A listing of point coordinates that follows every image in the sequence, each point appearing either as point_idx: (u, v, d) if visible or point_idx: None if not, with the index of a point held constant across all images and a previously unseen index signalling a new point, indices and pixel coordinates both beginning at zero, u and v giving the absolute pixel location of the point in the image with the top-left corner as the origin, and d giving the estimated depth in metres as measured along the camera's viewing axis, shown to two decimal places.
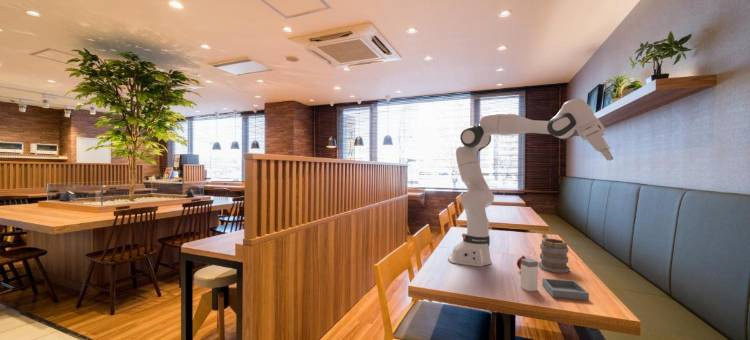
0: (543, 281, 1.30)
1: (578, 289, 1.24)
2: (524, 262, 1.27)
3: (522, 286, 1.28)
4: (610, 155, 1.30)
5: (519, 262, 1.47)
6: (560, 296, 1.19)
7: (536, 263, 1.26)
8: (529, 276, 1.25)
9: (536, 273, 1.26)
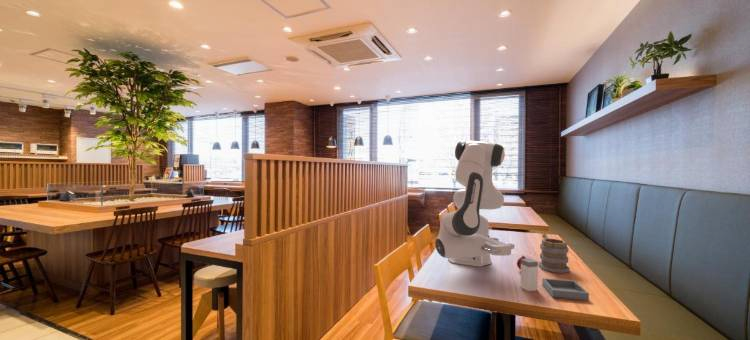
0: (543, 281, 1.30)
1: (578, 289, 1.24)
2: (524, 262, 1.27)
3: (522, 286, 1.28)
4: None
5: (519, 262, 1.47)
6: (560, 296, 1.19)
7: (536, 263, 1.26)
8: (529, 276, 1.25)
9: (536, 273, 1.26)
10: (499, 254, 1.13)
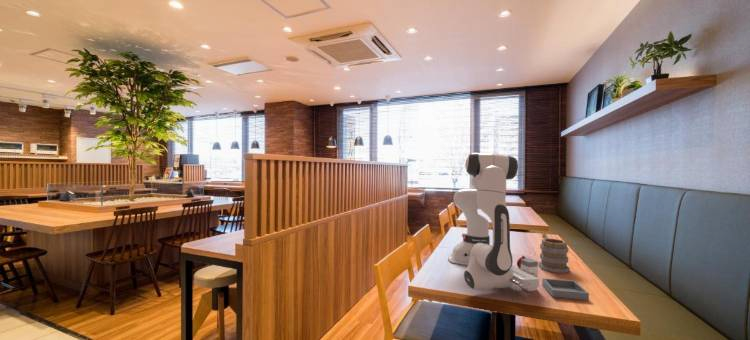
0: (543, 281, 1.30)
1: (578, 289, 1.24)
2: (524, 262, 1.27)
3: None
4: None
5: (519, 262, 1.47)
6: (560, 296, 1.19)
7: (536, 263, 1.26)
8: None
9: (536, 273, 1.26)
10: (527, 287, 1.16)
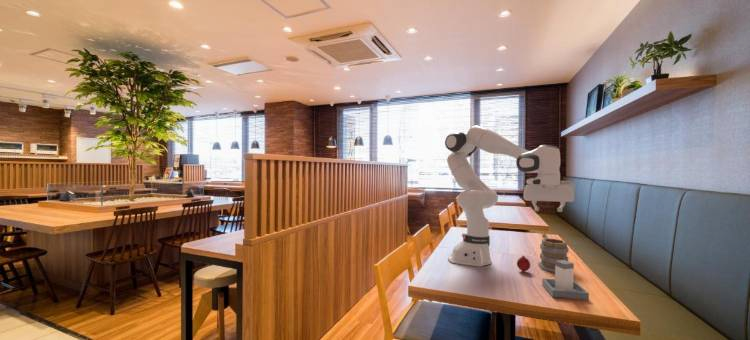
0: (543, 281, 1.30)
1: (578, 289, 1.24)
2: (559, 264, 1.24)
3: (557, 288, 1.25)
4: (560, 207, 1.36)
5: (519, 262, 1.47)
6: (560, 296, 1.19)
7: (572, 265, 1.22)
8: (565, 278, 1.21)
9: (572, 275, 1.22)
10: (573, 189, 1.34)
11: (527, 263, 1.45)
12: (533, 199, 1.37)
